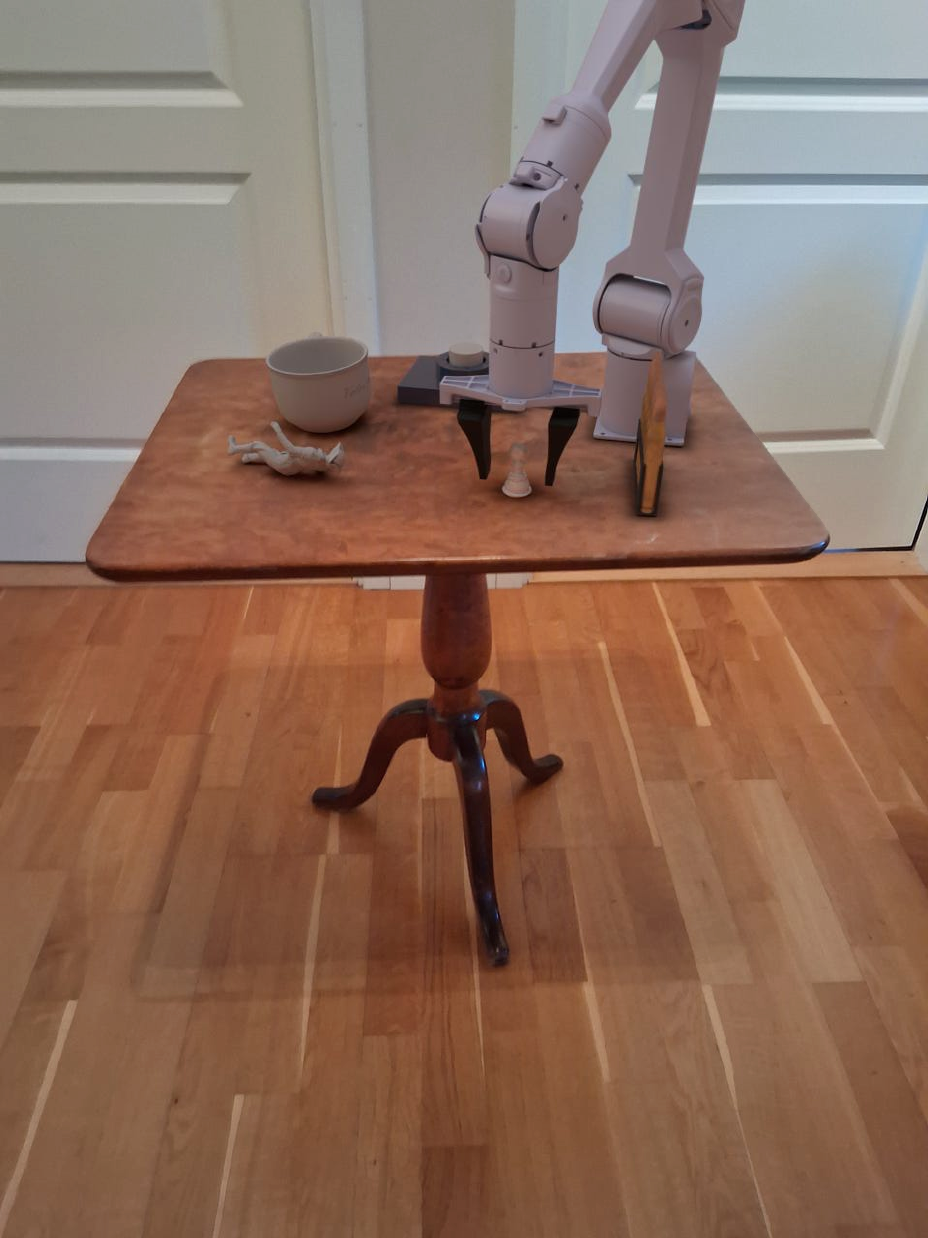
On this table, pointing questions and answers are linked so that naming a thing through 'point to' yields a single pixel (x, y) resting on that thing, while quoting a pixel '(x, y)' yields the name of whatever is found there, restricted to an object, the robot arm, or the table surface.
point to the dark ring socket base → (437, 381)
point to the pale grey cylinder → (466, 354)
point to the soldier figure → (288, 455)
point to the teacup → (320, 381)
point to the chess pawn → (517, 473)
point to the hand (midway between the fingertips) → (517, 478)
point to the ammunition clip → (650, 442)
